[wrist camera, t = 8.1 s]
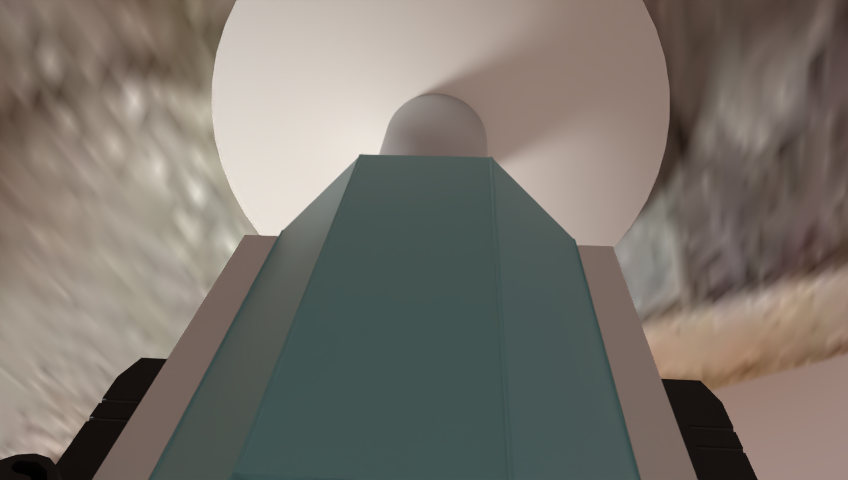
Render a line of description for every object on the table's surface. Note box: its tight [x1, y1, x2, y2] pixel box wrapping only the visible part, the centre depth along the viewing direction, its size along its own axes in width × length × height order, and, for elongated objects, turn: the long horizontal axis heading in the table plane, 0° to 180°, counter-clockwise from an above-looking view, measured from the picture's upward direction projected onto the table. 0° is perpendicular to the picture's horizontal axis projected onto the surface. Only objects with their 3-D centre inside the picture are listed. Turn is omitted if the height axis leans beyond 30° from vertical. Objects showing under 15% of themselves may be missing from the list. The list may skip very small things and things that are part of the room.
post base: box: [212, 0, 670, 248], centre depth 20 cm, size 16×16×8 cm
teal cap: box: [149, 154, 640, 480], centre depth 11 cm, size 7×7×9 cm
